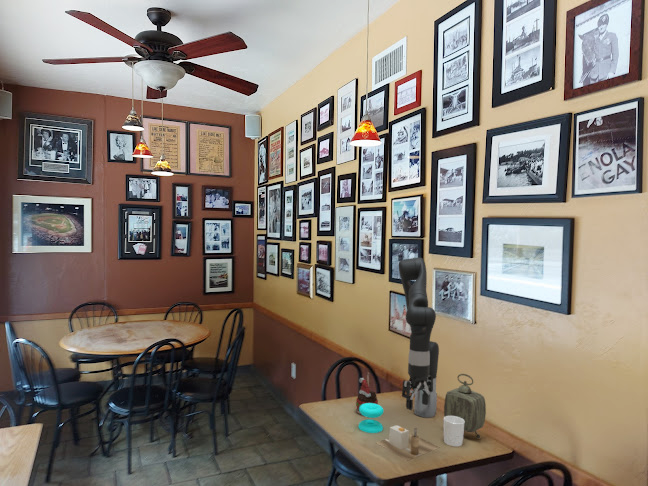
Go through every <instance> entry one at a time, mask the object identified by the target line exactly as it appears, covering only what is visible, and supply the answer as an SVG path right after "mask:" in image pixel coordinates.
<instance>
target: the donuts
mask: <svg viewBox="0 0 648 486" xmlns="http://www.w3.org/2000/svg"><path fill="white" fill-rule="evenodd" d="M359 411H360V413H361V414H360V415H362V416H363V417H366V418H368V419H362V420H361V421H360V422H359V423H358V429H359V430H360V431H362V432H364V433H367V434H377V433H381V432H382V431H383V430H384V426H383V424H382V423H381V422H380V421H378V420H376V418H381V417H382V415H383V414H384V411H385V410H384V408H383V406H381V405H380V404H374V403H365V404H362V405H361V406H360V407H359ZM374 418H375V419H374Z"/></svg>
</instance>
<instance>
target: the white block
mask: <svg viewBox="0 0 648 486" xmlns="http://www.w3.org/2000/svg"><path fill="white" fill-rule="evenodd" d="M388 433H389V434H388V435H389V437H388V438H389V444H391V445H393V446H395V447H397V448H399V449H404V448H407V447H408V441H409V433H410V430H408V429H406V428H404V427H402V426H400V425H393V426H390V427H389V432H388Z"/></svg>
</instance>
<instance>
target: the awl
mask: <svg viewBox="0 0 648 486" xmlns="http://www.w3.org/2000/svg"><path fill="white" fill-rule="evenodd" d="M413 429H414V433H413V435H412V436H411V454H412V455H418V454H419V438H420V436H419V435H417V432H418V430H417V429H418V428H416V427H415V428H413Z"/></svg>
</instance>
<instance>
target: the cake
mask: <svg viewBox="0 0 648 486" xmlns="http://www.w3.org/2000/svg"><path fill="white" fill-rule="evenodd" d="M366 374H367V375H366V379H365V378H364V377H360V378H359V379H358V381H359V383H361V385H360V386H359V388H358V390H359V394H358V395H357V398H356V402H355V407H356V409H355V411H356V413H358V414H360V415H362V414H361V413H360V411H359V407H360V406H361V405H362V404H365V403H374V404H378V402H379V400H378V397H377V393H376V391H374V390H370V372H367V373H366ZM378 405H379V404H378Z"/></svg>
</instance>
